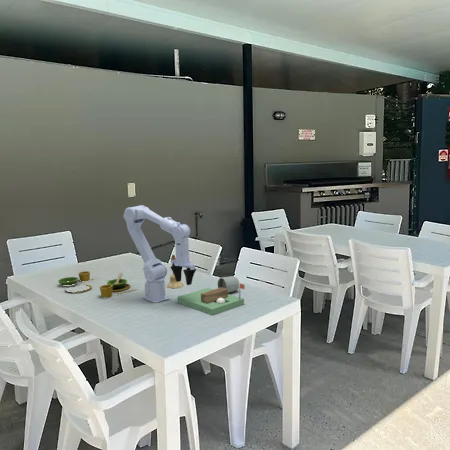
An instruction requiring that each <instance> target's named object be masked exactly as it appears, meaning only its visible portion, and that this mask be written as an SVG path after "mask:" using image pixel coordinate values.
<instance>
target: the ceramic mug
mask: <svg viewBox="0 0 450 450" xmlns="http://www.w3.org/2000/svg"><path fill="white" fill-rule="evenodd" d="M239 283H240V281H239V278H237V277H236V276H233V275H231V276H223V277H219V278H218V280H217V289H218V288H221V287H222V288H226V289H228V294H230V293H233V292H236V291H239Z"/></svg>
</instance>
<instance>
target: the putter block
mask: <svg viewBox="0 0 450 450" xmlns="http://www.w3.org/2000/svg"><path fill="white" fill-rule="evenodd" d="M213 289H214V290H211V291H208V292H204V293H201V302H204V303H210V302H213V301H216V300H217V299H218V298H226V297H228V294H229V293H228V289H226V288H222V287H221V288H218V287H217V288H213Z"/></svg>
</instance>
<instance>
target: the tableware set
mask: <svg viewBox="0 0 450 450" xmlns="http://www.w3.org/2000/svg"><path fill="white" fill-rule="evenodd" d="M77 275H78V277H79V278H78V277H77V276H69V277H63V278H60V279H59V280H58V281H57V283H59V284H60V285H61V284H62V285H72V284H75V283H76V284H77V283H78V281H80V280H81V281H88V280H89V281H90V278H91V271H88V270H86V271H80V272H78V273H77ZM122 277H123V272H120V273H118V276H117V278H114V279H113V278H112V279H113V280H107V281H106V284H107V285H106V284H103V285H102V286H101V285H99V286H100V287H99V290H100V295H101V298H102V297H109V298H111V297H112V296H113V293H114V295H115V294H117V295H116V296H120V295H123V294H126V293H130V292H134V291H135V292H136V291H137V290H138V288H133V289H129V288H130V287H131V284H129V283H128V280H127V279H126V278H122ZM67 281H69V282H67ZM89 281H88V282H89ZM76 284H75V285H76ZM62 285H61V286H62ZM85 285H86V286H89V287H90V288H89V289H87V290H89V291H90V290H91V289H92V288H93V287H92V285H90V284H85ZM128 289H129V290H128ZM87 290H83V291H86V292H88V291H87ZM119 291H120V292H119ZM77 292H82V291H77ZM82 293H83V292H82ZM119 294H120V295H119Z"/></svg>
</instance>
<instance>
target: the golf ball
mask: <svg viewBox="0 0 450 450" xmlns="http://www.w3.org/2000/svg"><path fill="white" fill-rule="evenodd" d="M216 303H218V304H223V303H225V300H224V299H223V298H218V299H217V301H216Z"/></svg>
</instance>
